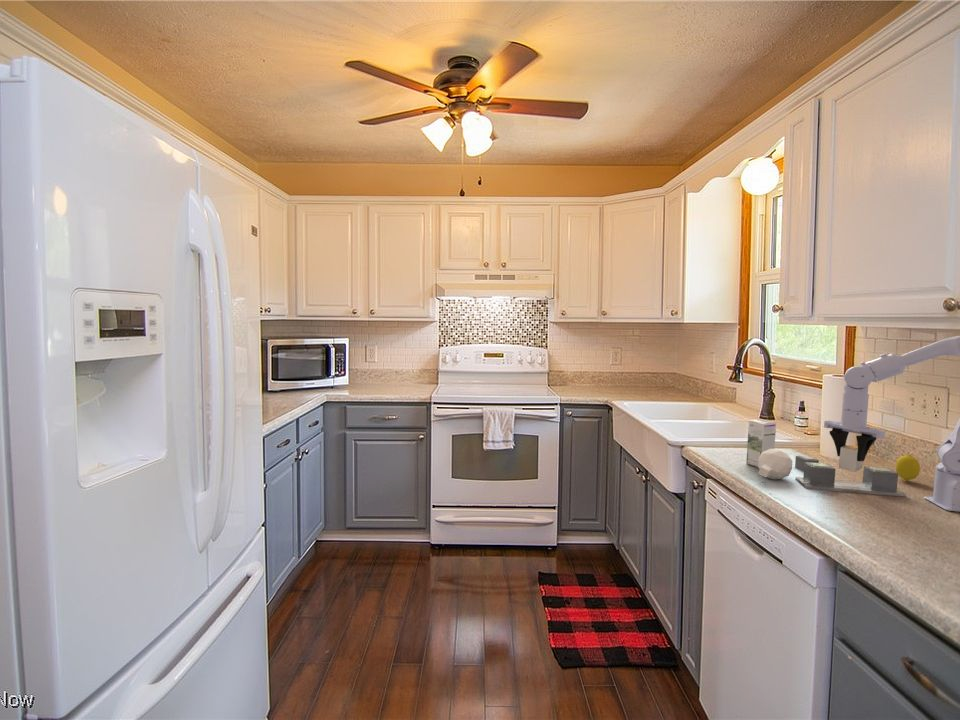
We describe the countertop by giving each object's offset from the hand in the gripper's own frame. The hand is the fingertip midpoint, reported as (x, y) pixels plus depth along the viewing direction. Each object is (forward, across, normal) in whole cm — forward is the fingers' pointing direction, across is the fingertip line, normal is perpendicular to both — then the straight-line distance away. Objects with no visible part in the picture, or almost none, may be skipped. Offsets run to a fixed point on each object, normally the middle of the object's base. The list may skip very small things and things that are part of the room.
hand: (850, 458), depth 145 cm
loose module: (+3, 0, -1) cm, 3 cm away
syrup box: (+9, +24, +4) cm, 26 cm away
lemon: (+9, -3, -23) cm, 25 cm away
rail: (+8, 0, 0) cm, 8 cm away
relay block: (+8, +16, -6) cm, 19 cm away
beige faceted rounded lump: (+9, +14, +13) cm, 21 cm away
